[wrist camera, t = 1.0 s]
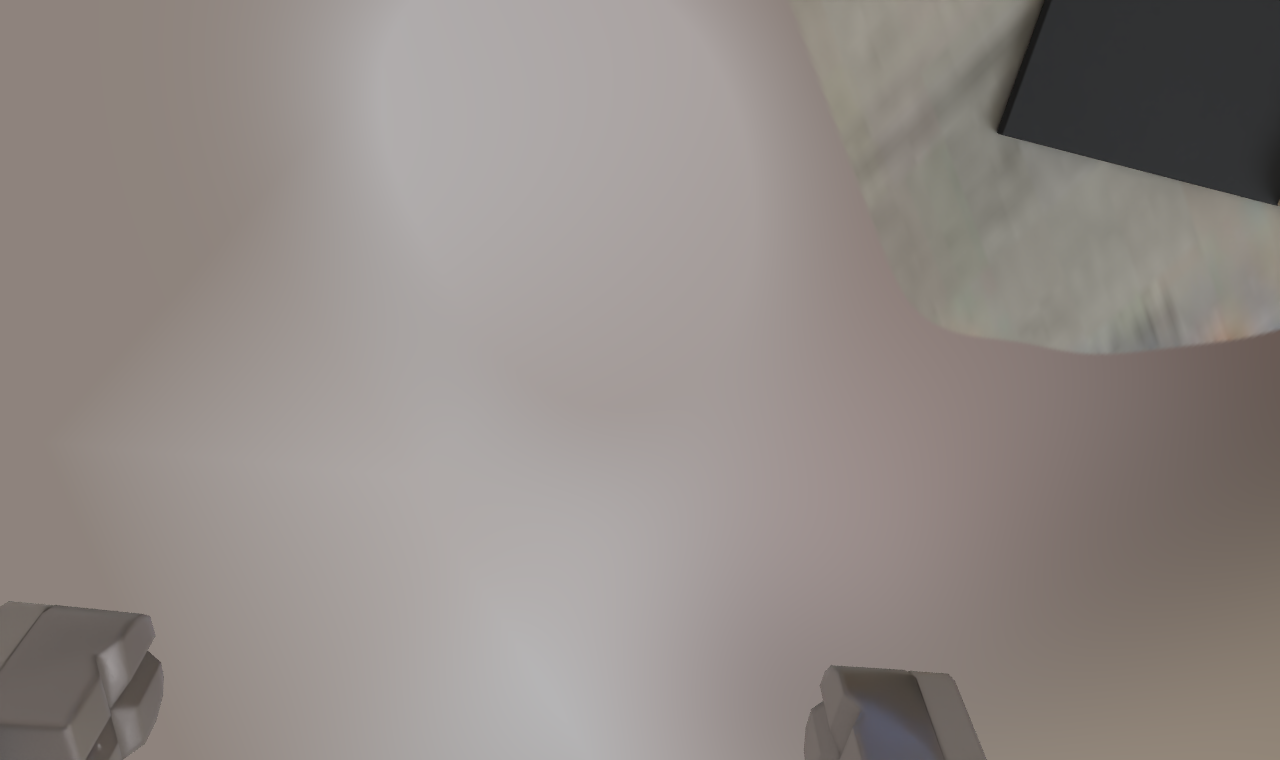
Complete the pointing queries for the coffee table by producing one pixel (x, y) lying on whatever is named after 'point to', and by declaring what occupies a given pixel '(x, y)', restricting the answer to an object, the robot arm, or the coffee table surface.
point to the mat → (1158, 89)
